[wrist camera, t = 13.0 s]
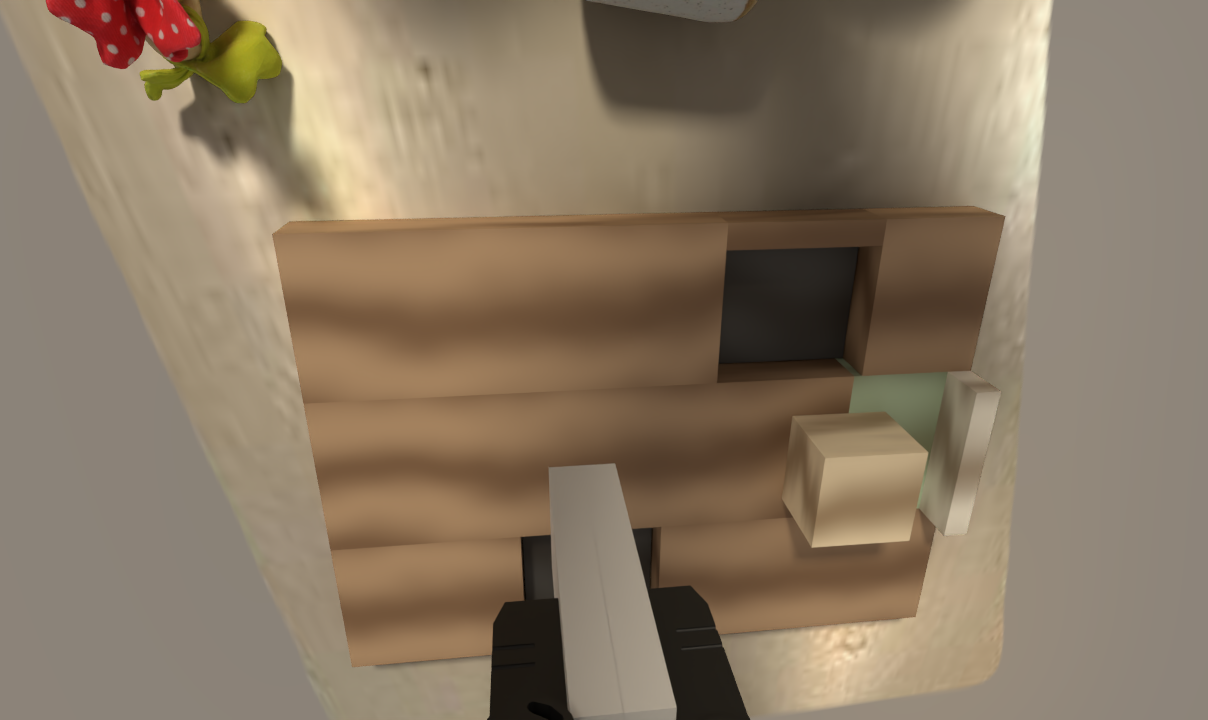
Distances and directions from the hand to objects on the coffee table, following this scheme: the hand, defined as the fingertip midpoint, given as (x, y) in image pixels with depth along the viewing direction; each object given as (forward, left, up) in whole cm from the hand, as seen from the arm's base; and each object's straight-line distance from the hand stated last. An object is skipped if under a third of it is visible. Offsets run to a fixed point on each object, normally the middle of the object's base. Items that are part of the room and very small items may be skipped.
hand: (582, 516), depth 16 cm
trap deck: (+13, +6, -26) cm, 30 cm away
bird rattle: (-12, -16, -27) cm, 33 cm away
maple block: (+14, +18, -23) cm, 32 cm away
